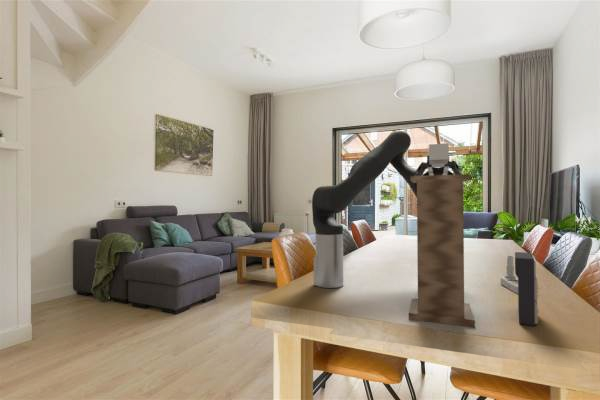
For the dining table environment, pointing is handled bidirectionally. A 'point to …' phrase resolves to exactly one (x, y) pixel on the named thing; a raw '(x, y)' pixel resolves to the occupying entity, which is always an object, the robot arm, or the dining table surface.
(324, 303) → the dining table surface
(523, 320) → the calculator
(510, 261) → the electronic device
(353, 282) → the dining table surface
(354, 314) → the dining table surface
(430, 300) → the wooden pedestal stand
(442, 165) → the white cylinder with crossbar
